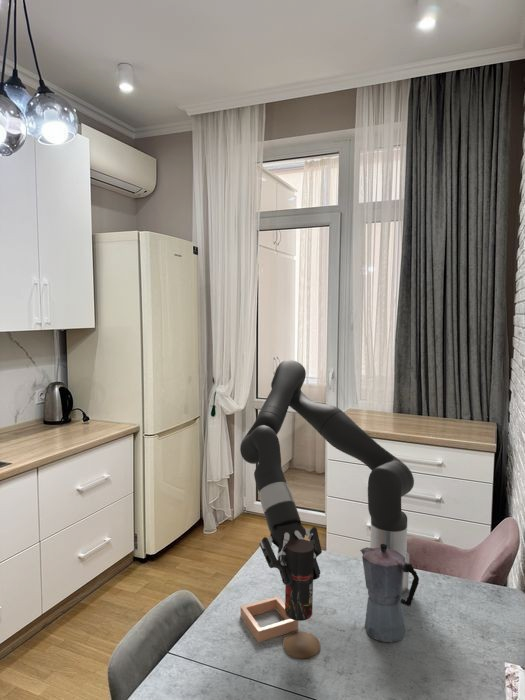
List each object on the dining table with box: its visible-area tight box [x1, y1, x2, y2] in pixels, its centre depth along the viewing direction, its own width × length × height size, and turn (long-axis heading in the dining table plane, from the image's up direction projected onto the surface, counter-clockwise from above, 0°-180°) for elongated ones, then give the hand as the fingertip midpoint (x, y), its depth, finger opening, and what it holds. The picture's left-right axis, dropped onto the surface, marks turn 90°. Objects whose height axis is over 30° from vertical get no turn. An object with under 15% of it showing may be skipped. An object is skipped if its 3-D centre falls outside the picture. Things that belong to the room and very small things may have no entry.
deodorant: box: [284, 538, 314, 622], centre depth 104 cm, size 6×6×15 cm
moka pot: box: [359, 544, 420, 643], centre depth 109 cm, size 10×15×20 cm, turn 45°
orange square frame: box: [239, 595, 299, 643], centre depth 112 cm, size 10×10×2 cm
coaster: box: [282, 630, 321, 660], centre depth 104 cm, size 8×8×1 cm
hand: (303, 581), depth 102 cm, fingers closed on deodorant, 6 cm apart
